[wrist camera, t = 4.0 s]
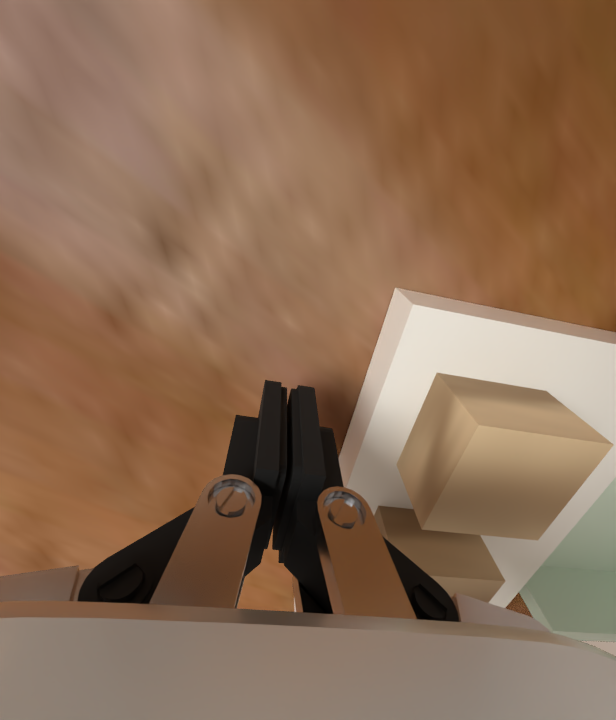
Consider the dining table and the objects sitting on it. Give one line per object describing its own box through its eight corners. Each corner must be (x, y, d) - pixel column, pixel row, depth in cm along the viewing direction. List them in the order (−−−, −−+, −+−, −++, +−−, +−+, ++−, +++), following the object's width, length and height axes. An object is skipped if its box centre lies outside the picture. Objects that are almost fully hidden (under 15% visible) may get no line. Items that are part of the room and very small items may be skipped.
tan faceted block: (436, 372, 12) (478, 425, 10) (546, 390, 13) (614, 444, 10) (396, 464, 14) (421, 529, 12) (492, 476, 15) (537, 540, 12)
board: (395, 287, 13) (412, 304, 11) (659, 341, 14) (712, 363, 13) (293, 591, 22) (294, 628, 20) (465, 602, 23) (480, 637, 21)
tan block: (378, 505, 15) (397, 573, 13) (469, 514, 16) (505, 581, 13) (351, 566, 17) (363, 635, 15) (433, 572, 18) (458, 639, 15)
